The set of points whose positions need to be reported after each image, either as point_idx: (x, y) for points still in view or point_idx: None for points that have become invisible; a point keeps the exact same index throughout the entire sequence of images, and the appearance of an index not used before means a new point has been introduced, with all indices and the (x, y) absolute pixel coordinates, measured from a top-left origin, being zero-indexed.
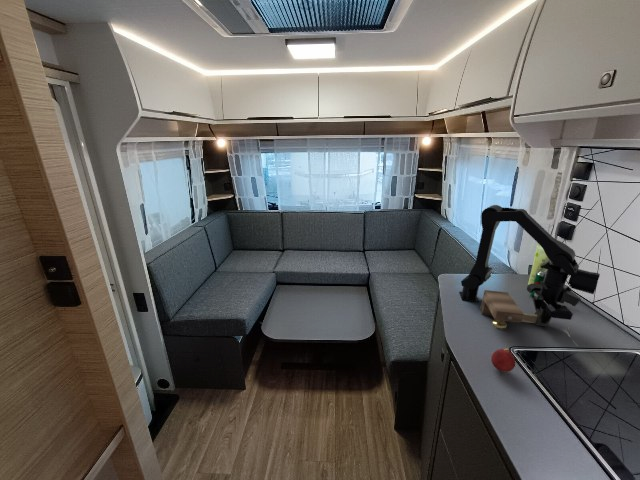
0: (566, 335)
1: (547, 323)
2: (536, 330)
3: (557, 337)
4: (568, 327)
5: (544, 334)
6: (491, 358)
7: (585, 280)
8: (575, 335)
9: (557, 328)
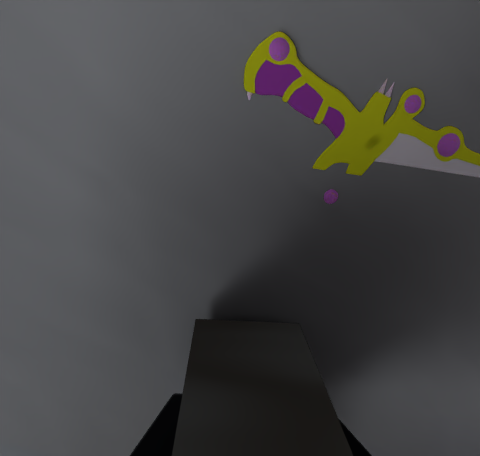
0: (446, 189)
1: (306, 363)
2: (355, 433)
3: (469, 307)
4: (287, 45)
5: (416, 397)
6: None
7: None
8: (455, 62)
9: (310, 215)
